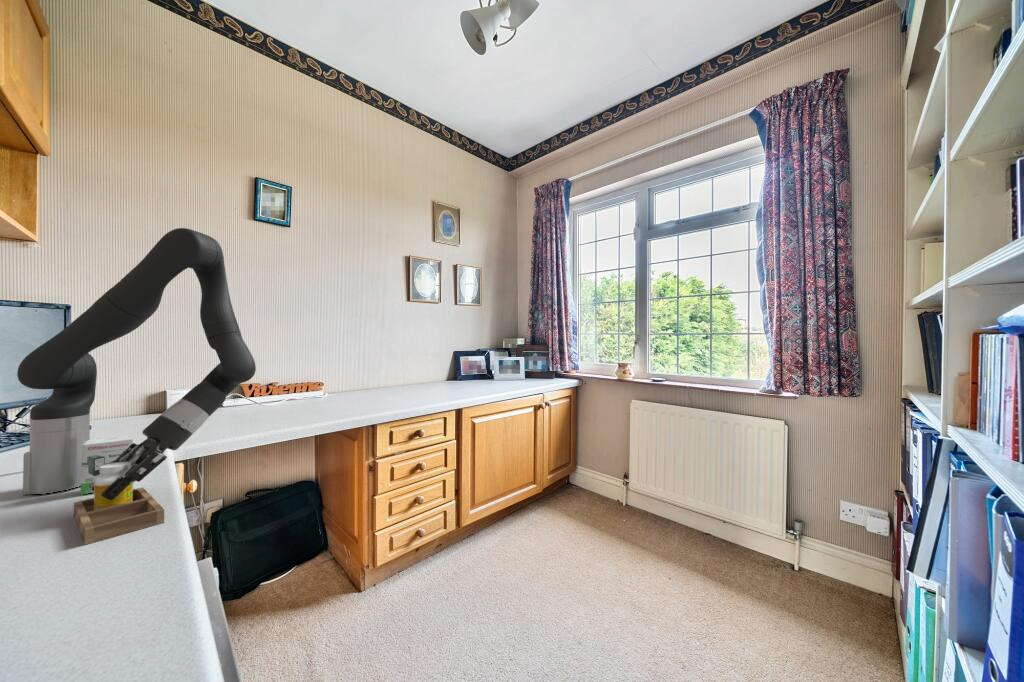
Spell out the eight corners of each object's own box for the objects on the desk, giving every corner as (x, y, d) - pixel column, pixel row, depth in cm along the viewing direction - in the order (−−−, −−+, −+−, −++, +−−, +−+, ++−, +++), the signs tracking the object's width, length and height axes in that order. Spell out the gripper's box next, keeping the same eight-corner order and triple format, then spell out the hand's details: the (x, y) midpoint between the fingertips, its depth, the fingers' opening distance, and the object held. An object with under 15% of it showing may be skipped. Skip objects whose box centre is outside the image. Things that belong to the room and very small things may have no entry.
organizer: (73, 514, 75) (73, 502, 75) (142, 498, 83) (142, 487, 83) (85, 544, 63) (85, 530, 63) (164, 522, 71) (164, 509, 71)
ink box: (79, 496, 84) (79, 444, 85) (82, 490, 88) (83, 440, 88) (133, 486, 90) (133, 437, 91) (134, 481, 94) (134, 434, 94)
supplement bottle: (132, 512, 76) (133, 464, 76) (93, 521, 72) (94, 470, 72) (132, 504, 80) (132, 459, 80) (94, 513, 76) (95, 464, 76)
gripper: (149, 411, 86) (70, 479, 76) (176, 417, 79) (92, 492, 69) (178, 430, 91) (107, 496, 80) (206, 436, 84) (132, 510, 73)
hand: (101, 494), depth 74 cm, fingers closed on supplement bottle, 5 cm apart
